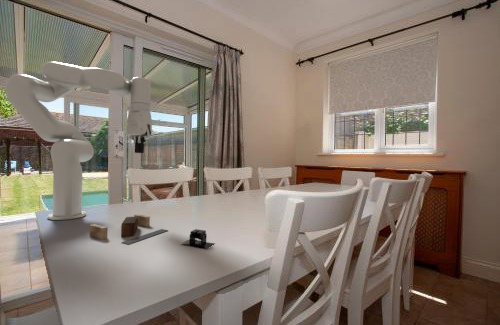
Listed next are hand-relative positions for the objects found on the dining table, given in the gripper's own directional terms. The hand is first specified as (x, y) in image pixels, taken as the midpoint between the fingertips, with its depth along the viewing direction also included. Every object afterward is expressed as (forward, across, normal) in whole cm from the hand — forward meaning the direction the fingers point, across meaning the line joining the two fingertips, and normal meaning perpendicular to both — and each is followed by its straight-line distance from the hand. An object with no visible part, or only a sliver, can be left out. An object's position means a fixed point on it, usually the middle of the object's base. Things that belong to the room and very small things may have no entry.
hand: (139, 152), depth 103 cm
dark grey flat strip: (+27, +22, -15) cm, 38 cm away
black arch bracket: (+28, +40, -12) cm, 51 cm away
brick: (+28, +14, -15) cm, 34 cm away
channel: (+27, +10, -15) cm, 33 cm away
